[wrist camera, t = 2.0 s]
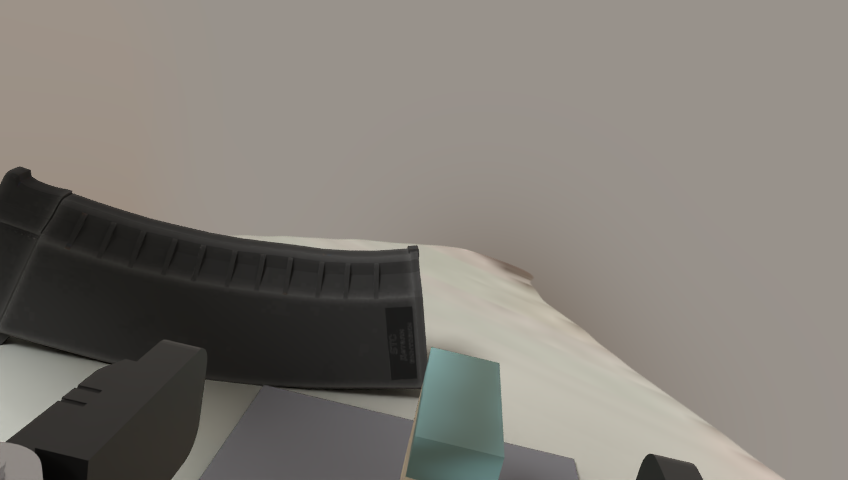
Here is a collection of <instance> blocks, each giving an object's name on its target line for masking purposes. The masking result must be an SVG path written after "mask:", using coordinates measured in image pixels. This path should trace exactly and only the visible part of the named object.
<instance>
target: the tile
mask: <svg viewBox="0 0 848 480" xmlns="http://www.w3.org/2000/svg"><path fill="white" fill-rule="evenodd" d="M504 458H505V457H504V439H503V421H502V403H501V385H500V366H499V363H497V362H492V361H488V360H484V359H480V358H475V357H471V356H467V355H463V354H459V353H454V352H450V351H446V350H442V349H437V348H433V347H431V351H430V355H429V359H428V364H427V368H426V372H425V376H424V380H423V384H422V389H421V393H420V397H419V401H418V405H417V410H416V414H415V418H414V422H413V426H412V431H411V435H410V439H409V443H408V447H407V452H406V456H405V460H404V464H403V468H402V473H401V477H400V480H498V478H499V475H500V471H501V468H502V464H503V461H504Z"/></svg>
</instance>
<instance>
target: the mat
mask: <svg viewBox="0 0 848 480" xmlns="http://www.w3.org/2000/svg"><path fill="white" fill-rule="evenodd" d="M413 422H414V421H413V420H409V419H405V418H401V417H396V416H392V415H388V414H384V413H380V412H376V411H371V410H367V409H363V408H359V407H355V406H351V405H346V404H342V403H338V402H334V401H330V400H326V399H321V398H317V397H313V396H309V395H305V394H301V393H296V392H292V391H288V390H284V389H280V388H275V387H271V386H267V385H263V387H262V388H261V390H260V391H259V393H258V394H257V395H256V397H255V398H254V400H253V401H252V403H251V404H250V406H249V407H248V409H247V410H246V412H245V413H244V414H243V416H242V417H241V419H240V420H239V422H238V423H237V425H236V426H235V428H234V429H233V431H232V432H231V433H230V435H229V436H228V438H227V439H226V441H225V442H224V444H223V445H222V447H221V448H220V450H219V451H218V453H217V454H216V455H215V457H214V458H213V460H212V461H211V463H210V464H209V466H208V467H207V469H206V470H205V472H204V473H203V474H202V476H201V477H200V479H199V480H400V477H401V473H402V468H403V464H404V460H405V456H406V452H407V447H408V443H409V439H410V435H411V431H412V426H413ZM504 457H505V458H504V461H503V464H502V468H501V471H500V475H499V478H498V480H579V479H578V474H577V470H576V466H575V461H574V459H572V458H568V457H563V456H559V455H555V454H551V453H547V452H543V451H538V450H534V449H530V448H526V447H522V446H517V445H513V444H509V443H505V442H504Z"/></svg>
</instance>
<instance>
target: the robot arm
mask: <svg viewBox="0 0 848 480" xmlns="http://www.w3.org/2000/svg"><path fill="white" fill-rule="evenodd" d="M206 367H207V352H206V350H205V349H204V348H199V347H195V346H191V345H186V344H182V343H178V342H173V341H169V340H162V341H160V342H159V343H158V344H157V345H155V346H154V347H153V348H152V349H151V350H150V351H148V352H147V353H146V354H145V355H144V356H142V357H141V358H140V359H139V360H138V361H137V362H136V361H132V360H128V359H125V360H122V361H119V362H117V363H114V364H111V365H109V366H106V367H103V368H101V369H98V370H97V371H95V372H94V373H93V374H92V375H90V376H89V377H88V378H86V379H85V380H84V381H83V382H81V383H80V384H79V385H78V388H74V389H72V390H71V391H70V392H69V393H67V394H66V395H65V396H63V397H62V400H61V401H57V402H56V403H55V404H53V405H52V406H51V407H49V408H48V409H47V410H46V411H44V412H43V413H42V414H40V415H39V416H38V417H37V418H35V419H34V420H33V421H32V422H30V423H29V424H28V425H26V426H25V427H24V428H23V429H21V430H20V431H19V432H18V433H16V434H15V435H14V436H12V437H11V438H10V439H9V440H7V441H6V442H0V480H171V479H172V478H173V476H174V475H175V474H176V472H177V471H178V470H179V468H180V467H181V466H182V464H183V463H184V462H185V460H186V459H187V457H188V455H189V453H190V451H191V449H192V447H193V444H194V441H195V438H196V435H197V431H198V427H199V420H200V412H201V405H202V397H203V390H204V382H205V374H206ZM636 480H703V478H702V477H701V475H700V473H699V471H698V469H697V468H696V466H695V465H694V464H692V463H689V462H684V461H680V460H676V459H672V458H667V457H663V456H659V455H654V454H648V455H647V456H646V457H645V458H644V460H643V462H642V464H641V467H640V469H639V472H638V475H637V478H636Z"/></svg>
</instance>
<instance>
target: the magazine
mask: <svg viewBox="0 0 848 480" xmlns="http://www.w3.org/2000/svg"><path fill="white" fill-rule="evenodd" d="M9 336H13V337H17V338H20V339H23V340H27V341H30V342H34V343H37V344H41V345H45V346H49V347H52V348H56V349H60V350H63V351H67V352H71V353H74V354H78V355H82V356H86V357H89V358H93V359H97V360H100V361H104V362H108V363H112V364H114V363H117V362H119V361H122V360H125V359H128V360H132V361H136V362H137V361H138V360H139V359H140V358H141V357H142V356H144V355H145V354H146V353H147V352H148V351H150V350H151V349H152V348H153V347H154V346H155V345H157V344H158V343H159V342H160V341H162V340H169V341H173V342H178V343H182V344H186V345H191V346H195V347H199V348H204V349H205V350H206V352H207V367H206V374H205V379H209V380H217V381H226V382H234V383H243V384H252V385H262V386H263V385H267V386H277V387H298V388H363V389H422V384H423V380H424V376H425V372H426V368H427V364H428V362H427V349H426V336H425V323H424V309H423V296H422V287H421V278H420V269H419V249H418V246H417V245H416V246H408V249H394V250H380V251H348V250H332V249H320V248H313V247H306V246H299V245H291V244H283V243H274V242H266V241H258V240H251V239H243V238H237V237H231V236H225V235H220V234H214V233H209V232H205V231H201V230H196V229H192V228H188V227H183V226H179V225H175V224H170V223H166V222H162V221H158V220H154V219H150V218H147V217H144V216H140V215H137V214H134V213H130V212H127V211H124V210H120V209H117V208H114V207H111V206H108V205H105V204H102V203H98V202H96V201H93V200H90V199H87V198H84V197H82V196H79V195H76V194H73V193H72V191H71V190H68V189H62V188H58V187H54V186H51V185H48V184H45V183H42V182H40V181H38V180H36V179H35V178H33V177H32V176H31V170H29V169H26V168H23V167H17V168H14V169H12V170H10V171H8V172H7V173H6V175H5V176H4V178H3V180H2V182H1V184H0V345H1V344H2V343H3V342H4V341H5V340H6V339H7V338H9Z"/></svg>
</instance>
